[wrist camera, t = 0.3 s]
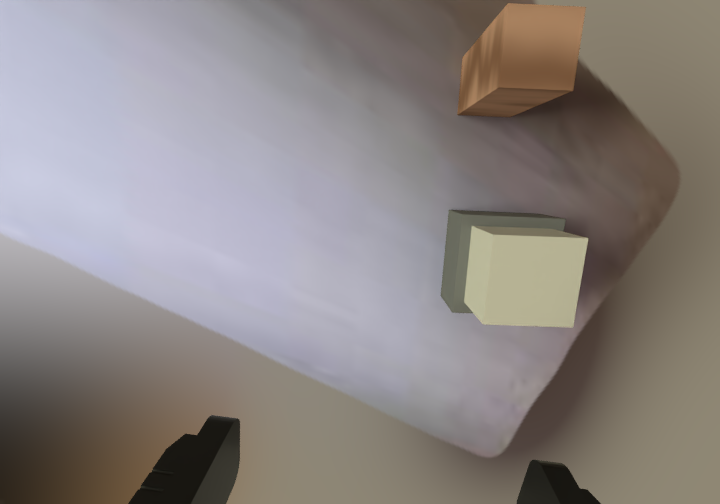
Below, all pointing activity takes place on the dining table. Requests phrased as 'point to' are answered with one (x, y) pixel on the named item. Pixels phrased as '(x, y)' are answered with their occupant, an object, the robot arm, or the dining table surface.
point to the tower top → (524, 276)
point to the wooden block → (521, 60)
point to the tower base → (460, 246)
